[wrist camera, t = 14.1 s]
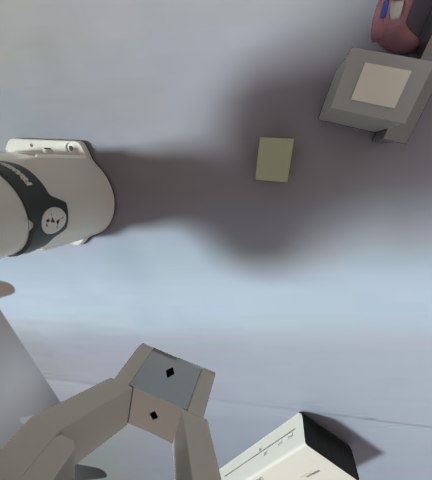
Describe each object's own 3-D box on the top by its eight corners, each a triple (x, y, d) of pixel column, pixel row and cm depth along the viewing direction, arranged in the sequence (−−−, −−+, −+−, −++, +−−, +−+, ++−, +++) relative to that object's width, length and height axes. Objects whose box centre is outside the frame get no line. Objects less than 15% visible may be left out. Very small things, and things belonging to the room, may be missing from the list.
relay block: (257, 177, 34) (255, 179, 30) (261, 140, 32) (259, 137, 28) (285, 179, 33) (287, 182, 29) (291, 141, 31) (294, 138, 27)
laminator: (302, 408, 46) (306, 443, 40) (354, 444, 46) (365, 485, 40) (213, 472, 59) (206, 505, 54) (253, 500, 59) (250, 536, 53)
